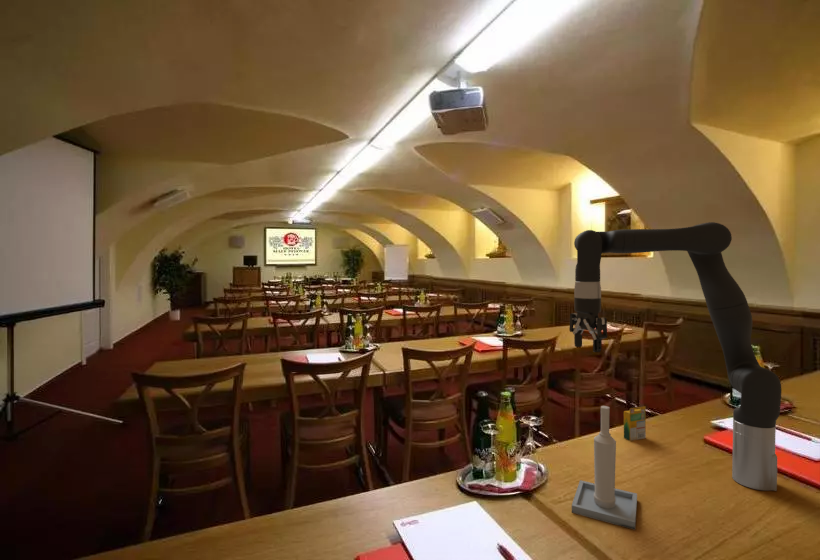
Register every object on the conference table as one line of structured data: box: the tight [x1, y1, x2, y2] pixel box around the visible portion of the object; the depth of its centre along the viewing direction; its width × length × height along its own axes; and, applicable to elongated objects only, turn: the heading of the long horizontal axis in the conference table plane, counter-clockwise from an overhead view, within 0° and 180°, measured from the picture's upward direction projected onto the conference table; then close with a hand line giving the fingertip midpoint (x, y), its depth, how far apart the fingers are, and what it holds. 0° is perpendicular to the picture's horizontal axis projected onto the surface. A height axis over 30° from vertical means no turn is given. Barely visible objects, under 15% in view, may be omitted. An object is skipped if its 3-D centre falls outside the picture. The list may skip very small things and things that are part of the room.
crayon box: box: [623, 405, 647, 442], centre depth 148 cm, size 7×3×12 cm, turn 108°
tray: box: [571, 479, 638, 531], centre depth 106 cm, size 14×14×2 cm
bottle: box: [593, 405, 617, 509], centre depth 106 cm, size 5×5×25 cm
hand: (587, 349), depth 127 cm, fingers open, 8 cm apart
